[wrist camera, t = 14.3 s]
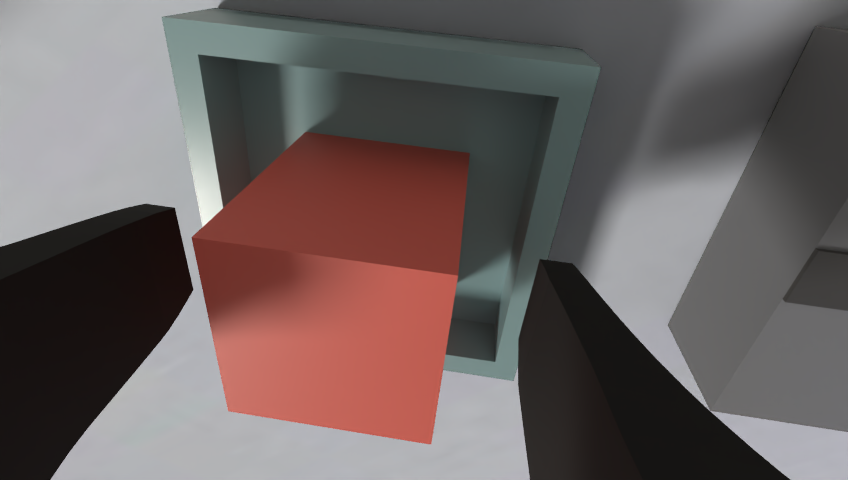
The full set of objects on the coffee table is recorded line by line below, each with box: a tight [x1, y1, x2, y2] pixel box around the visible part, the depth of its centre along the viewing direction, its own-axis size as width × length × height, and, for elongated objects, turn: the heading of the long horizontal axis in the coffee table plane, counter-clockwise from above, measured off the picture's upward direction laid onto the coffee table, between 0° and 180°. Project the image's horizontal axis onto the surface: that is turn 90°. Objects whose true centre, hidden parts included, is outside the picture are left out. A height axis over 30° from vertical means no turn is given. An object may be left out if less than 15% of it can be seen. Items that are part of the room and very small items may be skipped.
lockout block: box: [192, 132, 470, 444], centre depth 10 cm, size 4×4×5 cm
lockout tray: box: [162, 8, 601, 381], centre depth 11 cm, size 8×8×2 cm
